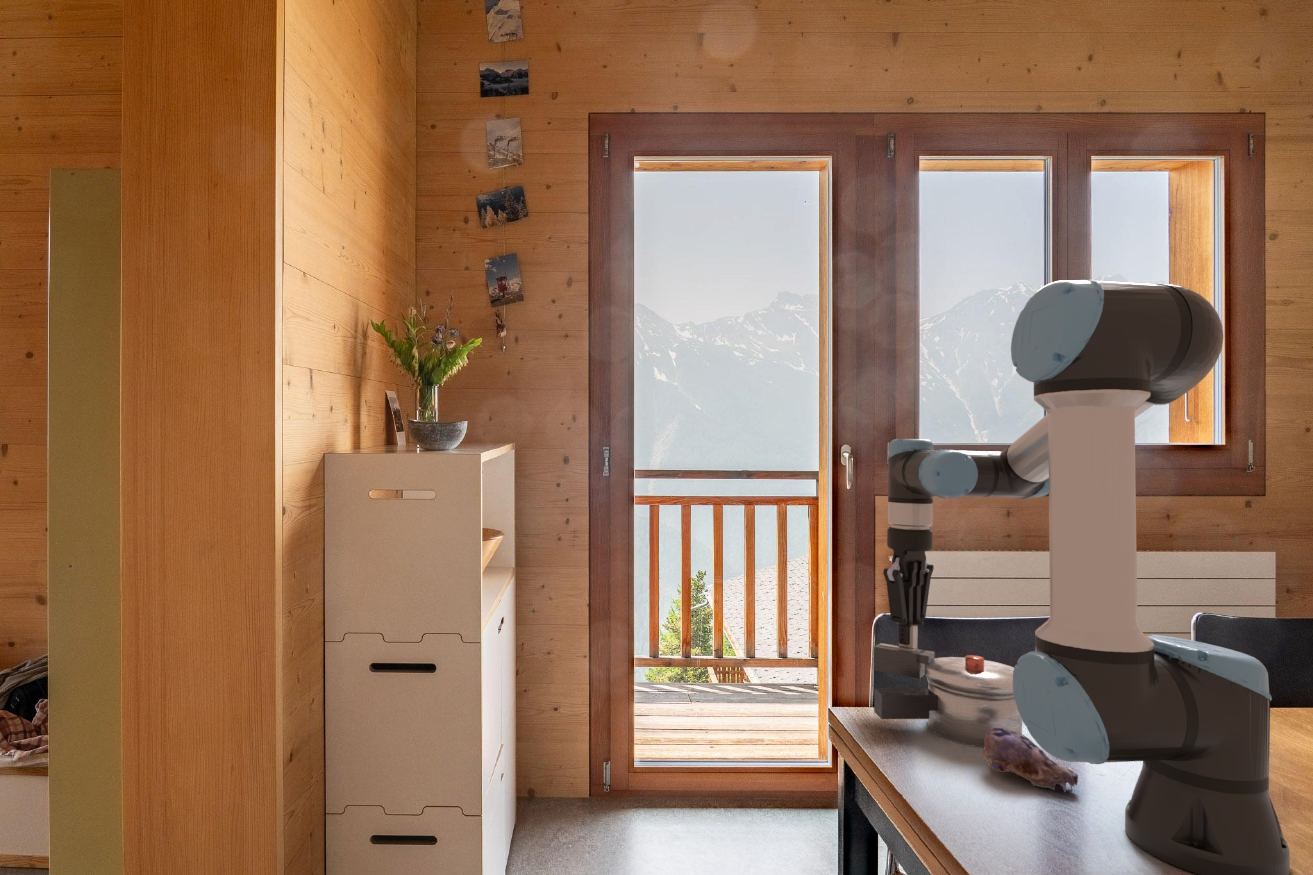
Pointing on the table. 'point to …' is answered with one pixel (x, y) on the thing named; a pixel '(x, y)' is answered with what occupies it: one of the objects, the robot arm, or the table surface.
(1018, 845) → the table surface
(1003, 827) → the table surface
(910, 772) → the table surface
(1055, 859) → the table surface
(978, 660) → the lid
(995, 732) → the skull
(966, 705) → the pot
